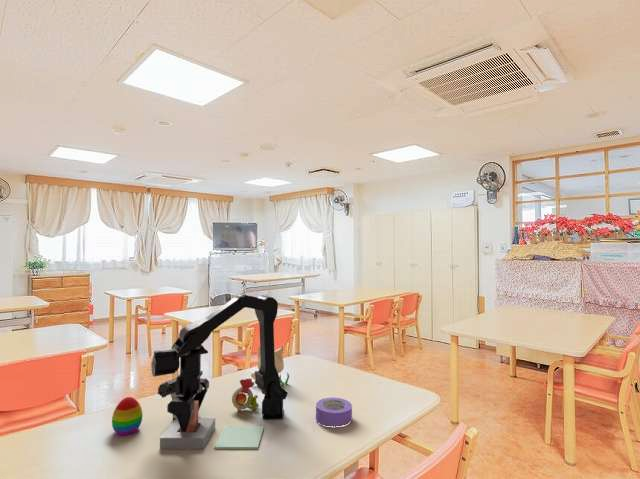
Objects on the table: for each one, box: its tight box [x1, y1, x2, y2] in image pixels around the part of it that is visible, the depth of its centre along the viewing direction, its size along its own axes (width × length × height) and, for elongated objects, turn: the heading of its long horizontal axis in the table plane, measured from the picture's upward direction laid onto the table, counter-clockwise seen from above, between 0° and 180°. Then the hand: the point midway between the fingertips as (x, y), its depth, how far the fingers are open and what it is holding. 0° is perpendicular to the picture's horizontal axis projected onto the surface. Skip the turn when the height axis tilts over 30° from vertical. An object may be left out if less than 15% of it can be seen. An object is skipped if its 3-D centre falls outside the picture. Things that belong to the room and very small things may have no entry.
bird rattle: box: [231, 377, 260, 412], centre depth 126 cm, size 6×11×9 cm
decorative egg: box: [111, 396, 143, 436], centre depth 111 cm, size 8×8×10 cm
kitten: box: [250, 346, 290, 387], centre depth 152 cm, size 15×10×15 cm, turn 77°
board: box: [213, 425, 265, 450], centre depth 107 cm, size 12×12×1 cm
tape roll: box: [315, 396, 353, 427], centre depth 120 cm, size 12×12×5 cm
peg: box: [180, 401, 200, 432], centre depth 107 cm, size 4×4×10 cm
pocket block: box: [159, 417, 216, 450], centre depth 107 cm, size 12×12×3 cm
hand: (189, 423), depth 107 cm, fingers open, 9 cm apart
